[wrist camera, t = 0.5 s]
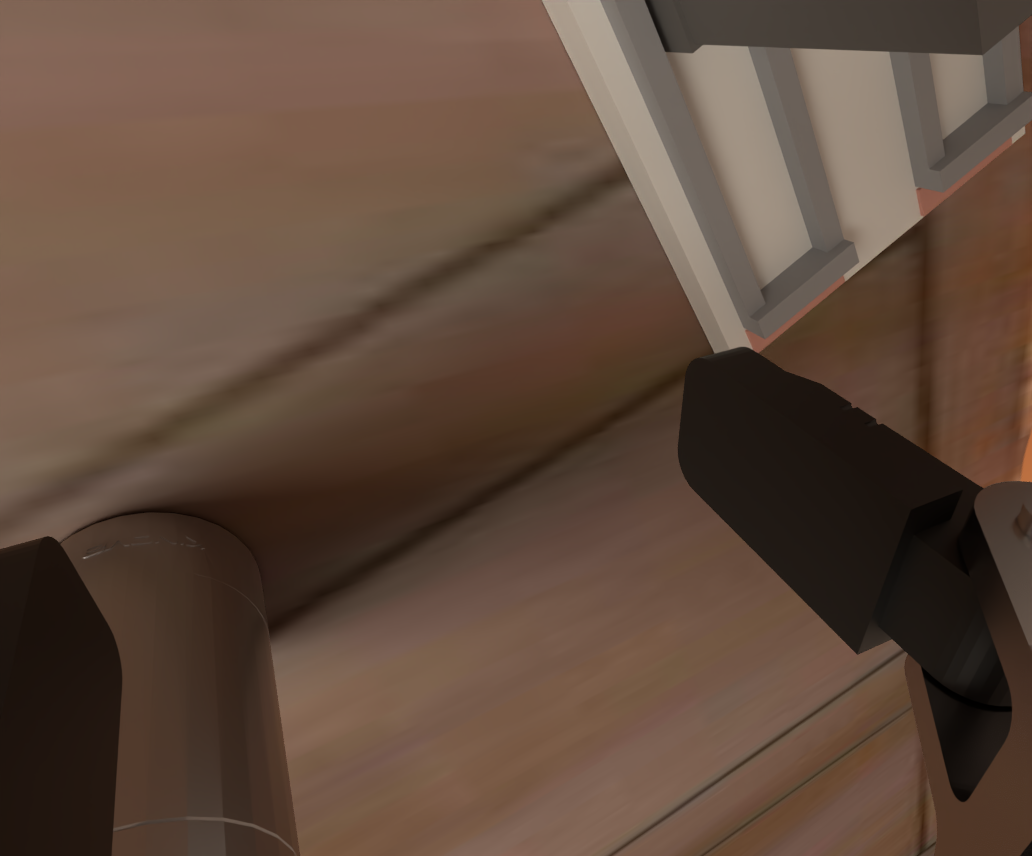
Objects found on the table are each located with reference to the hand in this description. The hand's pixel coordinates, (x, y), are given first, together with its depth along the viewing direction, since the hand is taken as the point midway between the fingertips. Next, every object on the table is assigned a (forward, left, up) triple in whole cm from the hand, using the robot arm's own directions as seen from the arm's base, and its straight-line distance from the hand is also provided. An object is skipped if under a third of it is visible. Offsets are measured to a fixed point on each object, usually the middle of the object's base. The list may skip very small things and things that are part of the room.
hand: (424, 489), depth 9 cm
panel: (+9, -22, -20) cm, 31 cm away
